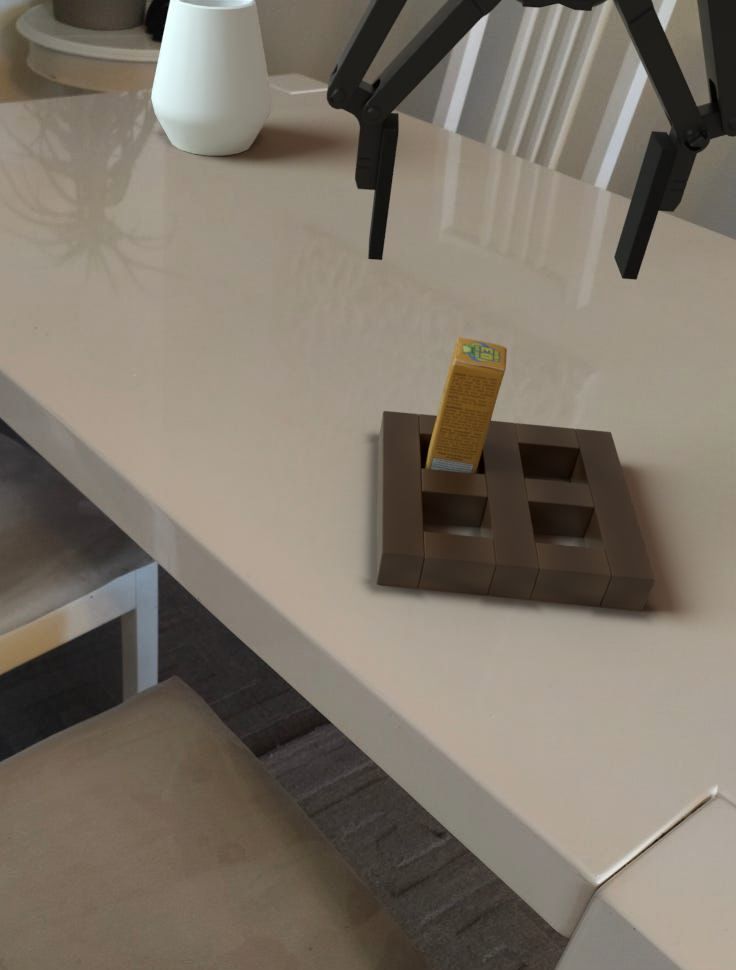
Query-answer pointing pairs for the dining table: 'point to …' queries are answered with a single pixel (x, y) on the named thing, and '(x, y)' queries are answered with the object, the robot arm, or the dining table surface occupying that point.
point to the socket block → (510, 517)
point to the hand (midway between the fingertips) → (499, 259)
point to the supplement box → (466, 406)
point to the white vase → (212, 77)
